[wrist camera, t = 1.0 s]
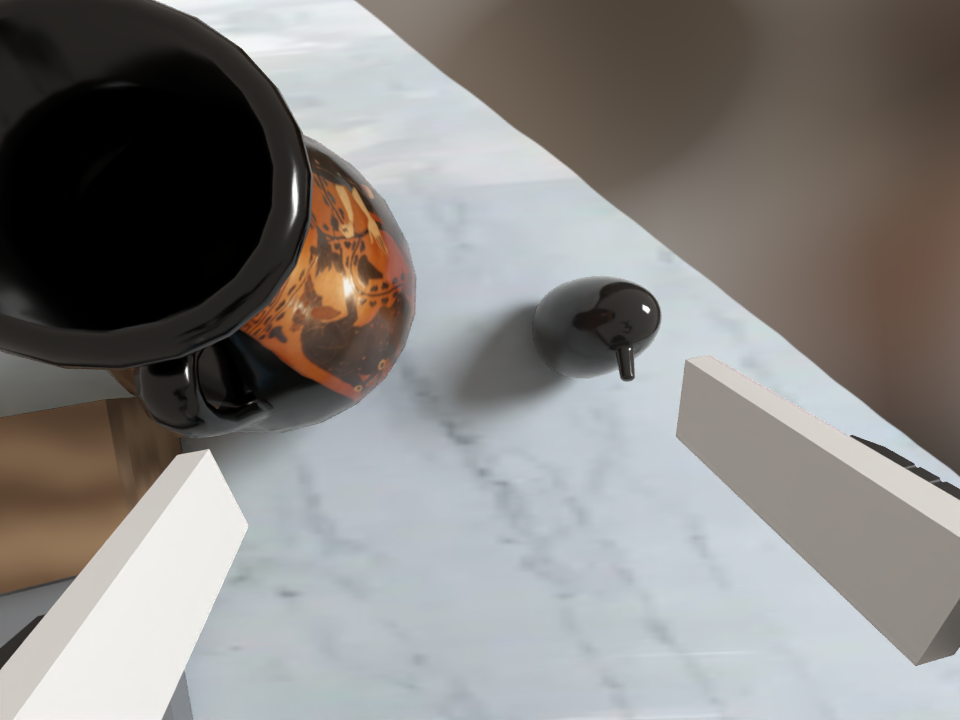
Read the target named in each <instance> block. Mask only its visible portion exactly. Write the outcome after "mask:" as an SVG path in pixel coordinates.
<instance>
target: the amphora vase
mask: <svg viewBox="0 0 960 720" xmlns="http://www.w3.org/2000/svg"><path fill="white" fill-rule="evenodd" d="M415 302H416V275H415V271H414V267H413V262H412V258H411V254H410V250H409V246H408V243H407V241H406V239H405V237H404V235H403V233H402V231H401V229H400V227H399V226H398V224H397V222H396V220H395V218H394V216H393V214H392V213H391V211H390V209H389V207H388V205H387V203H386V201H385V200H384V199H383V198H382V196H381V195H380V194H379V193H378V192H377V191H376V190H375V189H374V188H373V186H372V185H371V184H370V183H369V182H368V181H367V180H366V179H365V178H364V177H363V175H362V174H361V173H360V172H359V171H358V170H357V169H356V168H355V167H353V166H352V165H351V164H350V163H349V162H347V161H346V160H344V159H343V158H341V157H340V156H338V155H337V154H335V153H334V152H332V151H331V150H329V149H328V148H326V147H325V146H323V145H322V144H320V143H319V142H317V141H316V140H314V139H312V138H309V137H307V136H305V135H303V133H302V131H301V129H300V127H299V125H298V123H297V121H296V120H295V118H294V116H293V114H292V112H291V110H290V109H289V107H288V105H287V103H286V101H285V99H284V97H283V96H282V94H281V92H280V90H279V89H278V88H277V87H276V86H275V85H274V83H273V82H272V81H271V80H270V79H269V78H268V77H267V76H266V75H265V74H264V72H263V71H262V70H261V69H260V68H259V67H258V66H257V65H256V64H255V63H254V61H253V60H252V59H251V58H250V57H249V56H248V55H247V54H246V53H245V52H244V51H243V49H242V48H240V47H239V46H237V45H236V44H235V43H233V42H232V41H230V40H229V39H227V38H226V37H224V36H223V35H221V34H220V33H219V32H217V31H216V30H214V29H213V28H211V27H210V26H208V25H207V24H206V23H204V22H203V21H201V20H200V19H198V18H197V17H194V16H192V15H189V14H187V13H185V12H182V11H180V10H177V9H175V8H173V7H170V6H168V5H165V4H163V3H160V2H158V1H156V0H0V351H2V352H4V353H7V354H11V355H15V356H19V357H23V358H27V359H31V360H35V361H39V362H42V363H46V364H50V365H54V366H58V367H62V368H67V369H104V370H106V371H107V372H108V373H109V374H110V375H111V376H113V377H114V378H115V379H116V380H117V381H118V382H119V383H120V384H121V385H122V386H123V387H124V388H125V389H126V390H127V391H128V392H129V393H131V394H133V395H135V396H137V398H138V400H139V402H140V404H141V406H142V407H143V409H144V411H145V413H146V415H147V417H148V418H150V419H151V420H153V421H154V422H156V423H157V424H159V425H160V426H162V427H163V428H165V429H166V430H168V431H169V432H171V433H172V434H174V435H175V436H177V437H178V438H203V437H216V436H220V435H224V434H228V433H231V432H286V431H290V430H294V429H298V428H302V427H306V426H310V425H314V424H318V423H322V422H324V421H326V420H328V419H330V418H332V417H333V416H335V415H337V414H339V413H341V412H343V411H345V410H347V409H348V408H350V407H352V406H354V405H356V404H358V403H359V402H360V401H361V400H362V399H363V398H364V397H365V396H366V395H367V394H368V393H370V392H371V391H372V390H373V389H374V388H375V387H376V386H377V385H378V384H379V383H381V382H382V381H383V380H384V379H385V378H386V376H387V375H388V373H389V371H390V370H391V368H392V367H393V365H394V363H395V362H396V360H397V359H398V357H399V356H400V354H401V352H402V351H403V349H404V348H405V344H406V341H407V338H408V335H409V332H410V328H411V325H412V322H413V319H414V315H415Z"/></svg>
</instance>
